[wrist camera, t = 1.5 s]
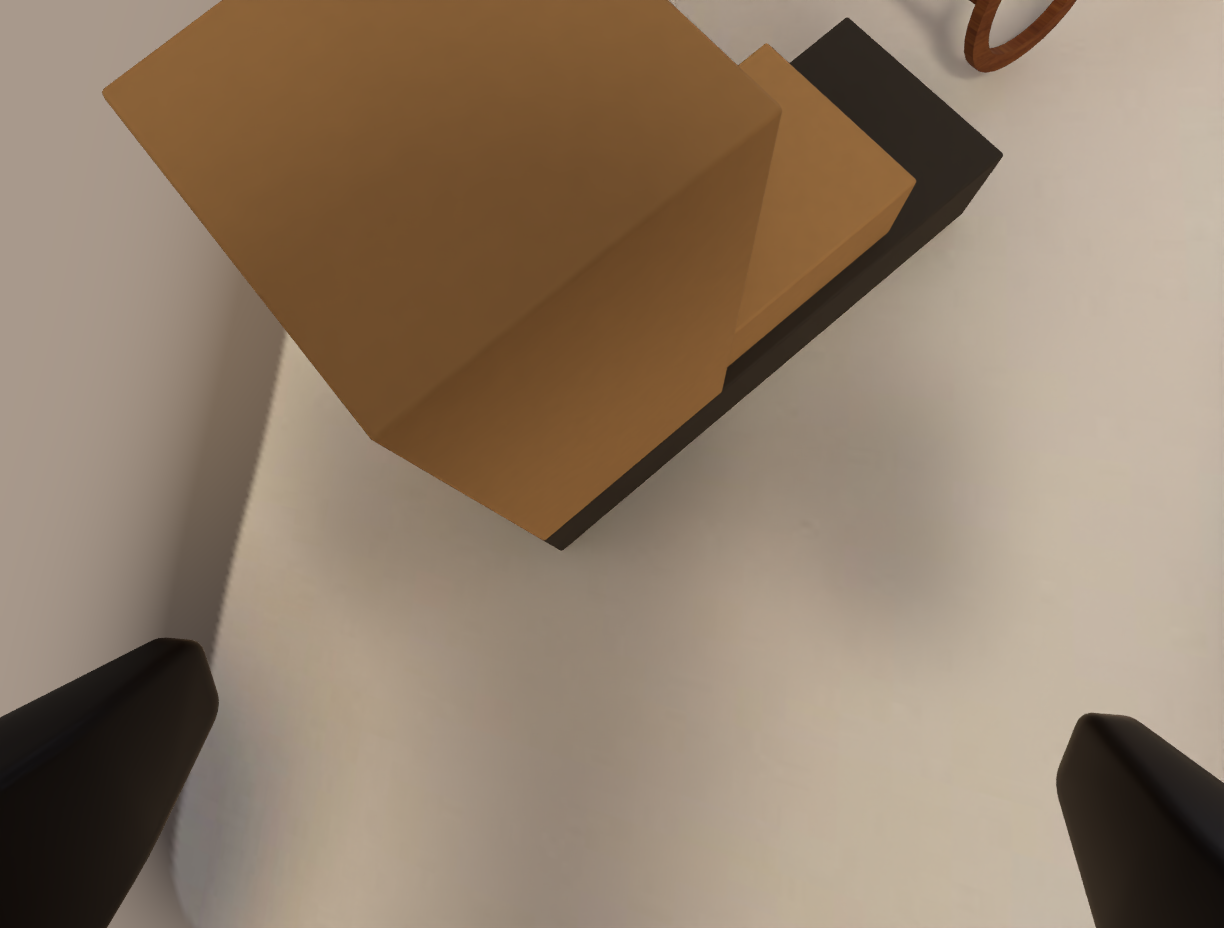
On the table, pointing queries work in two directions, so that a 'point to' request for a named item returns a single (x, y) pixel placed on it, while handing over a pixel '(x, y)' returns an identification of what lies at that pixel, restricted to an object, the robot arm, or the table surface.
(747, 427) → the table surface
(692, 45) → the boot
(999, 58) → the glasses
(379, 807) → the table surface
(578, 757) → the table surface
